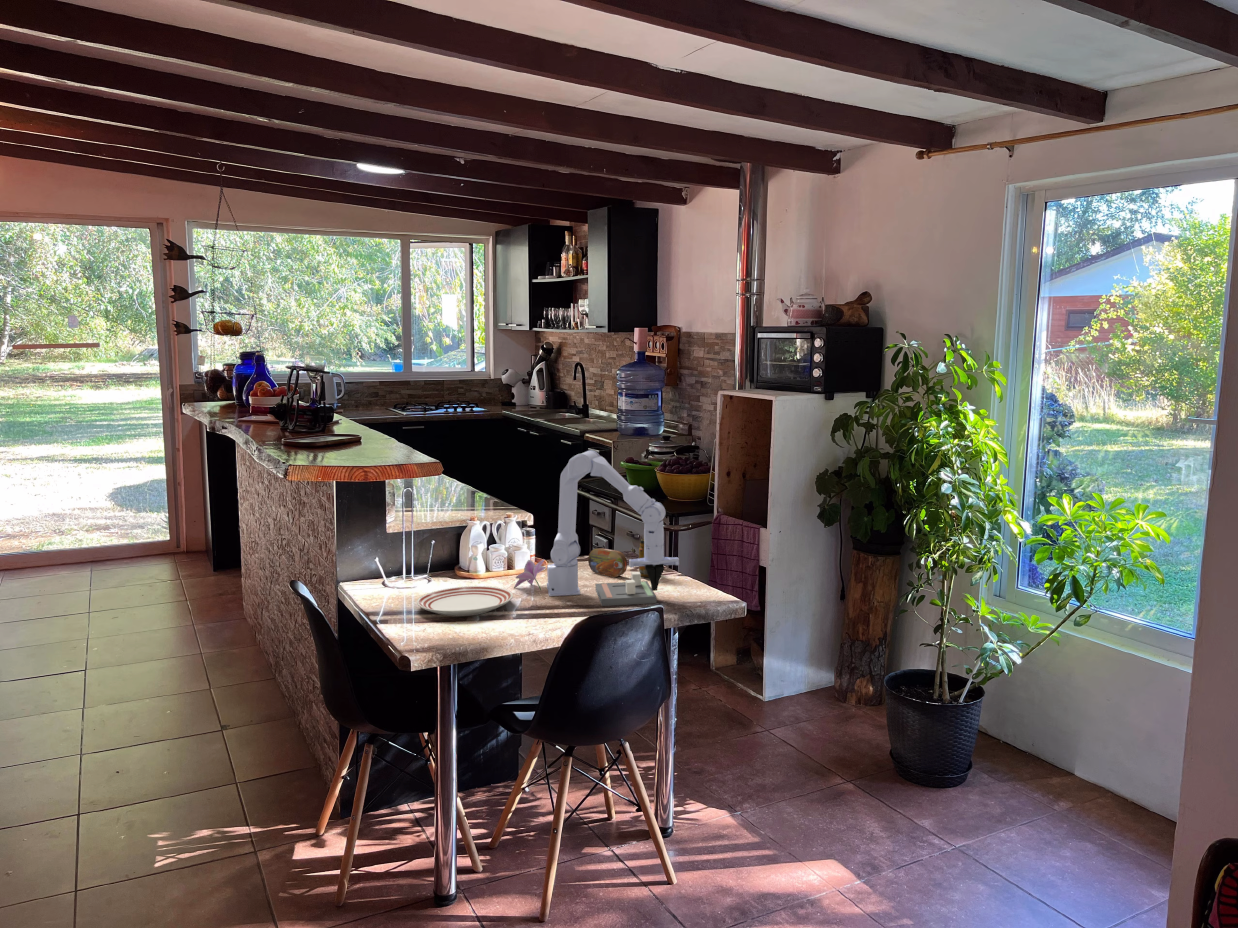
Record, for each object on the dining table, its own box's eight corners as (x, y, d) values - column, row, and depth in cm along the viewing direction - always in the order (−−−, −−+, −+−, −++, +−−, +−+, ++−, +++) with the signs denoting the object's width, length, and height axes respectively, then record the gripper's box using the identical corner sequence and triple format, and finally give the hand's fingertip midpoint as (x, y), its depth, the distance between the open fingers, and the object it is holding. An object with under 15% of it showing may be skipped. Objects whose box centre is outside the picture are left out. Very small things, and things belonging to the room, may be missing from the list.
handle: (632, 585, 279) (632, 574, 278) (631, 583, 282) (631, 571, 281) (640, 585, 279) (640, 574, 279) (639, 582, 282) (639, 571, 282)
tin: (587, 571, 305) (587, 547, 304) (594, 570, 308) (593, 545, 306) (622, 579, 296) (622, 553, 294) (628, 577, 298) (628, 551, 297)
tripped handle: (627, 594, 270) (627, 582, 269) (625, 591, 273) (625, 580, 272) (635, 593, 270) (635, 582, 269) (633, 591, 273) (633, 579, 272)
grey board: (601, 605, 266) (601, 598, 266) (595, 589, 283) (595, 583, 283) (656, 602, 269) (656, 595, 268) (647, 587, 285) (647, 580, 285)
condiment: (649, 572, 304) (649, 536, 302) (667, 577, 297) (666, 540, 296) (632, 575, 299) (632, 539, 298) (650, 581, 293) (649, 544, 291)
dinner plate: (400, 606, 269) (399, 595, 269) (481, 589, 287) (480, 578, 286) (447, 628, 248) (447, 616, 248) (531, 608, 266) (531, 597, 265)
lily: (552, 585, 293) (540, 558, 294) (559, 580, 282) (546, 551, 283) (518, 601, 289) (505, 574, 290) (524, 596, 278) (510, 568, 279)
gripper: (631, 548, 265) (631, 594, 267) (681, 546, 267) (681, 592, 269) (627, 543, 272) (628, 587, 274) (676, 541, 274) (676, 585, 276)
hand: (654, 589), depth 272 cm, fingers closed
